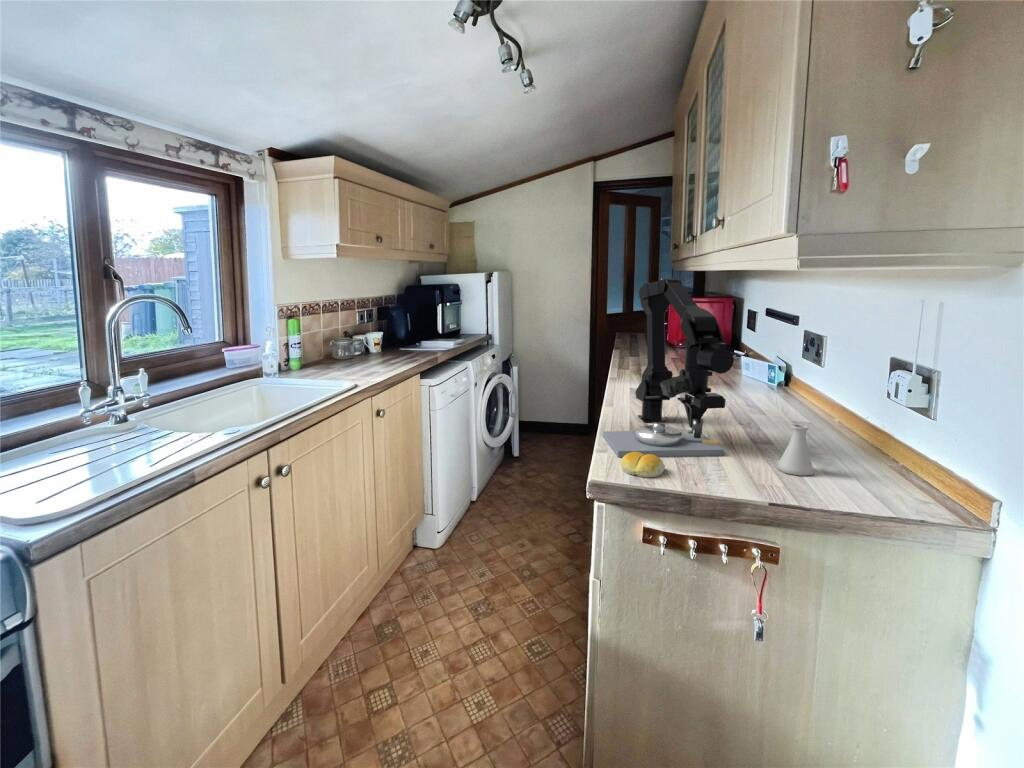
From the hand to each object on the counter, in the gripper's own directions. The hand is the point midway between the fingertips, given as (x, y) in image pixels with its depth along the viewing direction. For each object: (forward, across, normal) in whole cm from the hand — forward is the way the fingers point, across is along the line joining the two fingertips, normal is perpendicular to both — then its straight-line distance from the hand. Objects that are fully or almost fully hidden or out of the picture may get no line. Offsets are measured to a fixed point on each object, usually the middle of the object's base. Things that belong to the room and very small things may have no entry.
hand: (692, 427), depth 128 cm
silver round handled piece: (+2, +2, -7) cm, 8 cm away
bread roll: (+4, +17, -20) cm, 26 cm away
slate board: (+4, +1, -9) cm, 10 cm away
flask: (+4, +21, +13) cm, 25 cm away
